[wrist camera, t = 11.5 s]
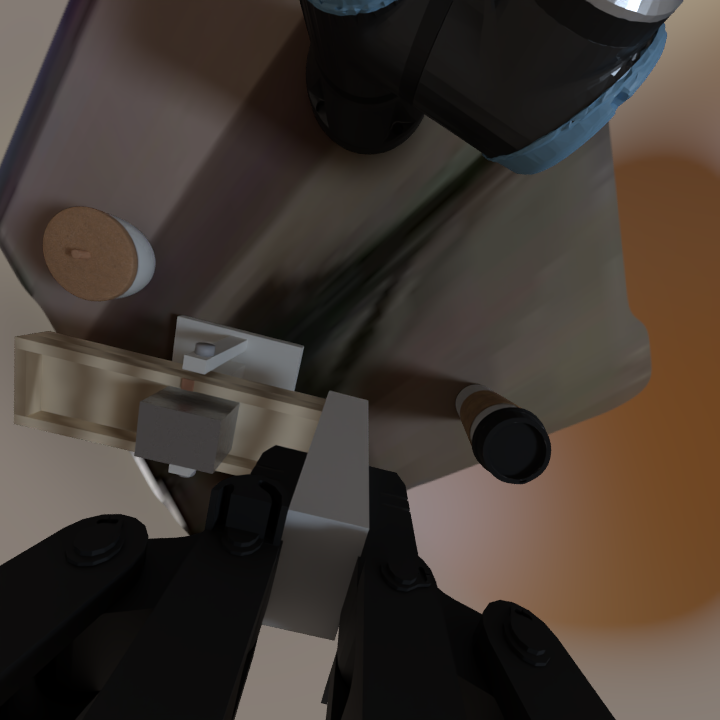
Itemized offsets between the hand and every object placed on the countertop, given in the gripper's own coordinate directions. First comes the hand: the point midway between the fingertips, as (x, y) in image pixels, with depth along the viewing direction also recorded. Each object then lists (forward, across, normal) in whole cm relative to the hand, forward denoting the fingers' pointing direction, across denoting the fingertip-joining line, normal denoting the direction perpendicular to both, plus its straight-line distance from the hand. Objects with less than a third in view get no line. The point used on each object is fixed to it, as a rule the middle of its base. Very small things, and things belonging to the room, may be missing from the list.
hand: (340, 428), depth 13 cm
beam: (+24, -16, -14) cm, 32 cm away
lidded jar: (+37, -33, 0) cm, 49 cm away
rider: (+23, -15, -14) cm, 31 cm away
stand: (+36, -16, -14) cm, 42 cm away
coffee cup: (+37, +20, -8) cm, 42 cm away
